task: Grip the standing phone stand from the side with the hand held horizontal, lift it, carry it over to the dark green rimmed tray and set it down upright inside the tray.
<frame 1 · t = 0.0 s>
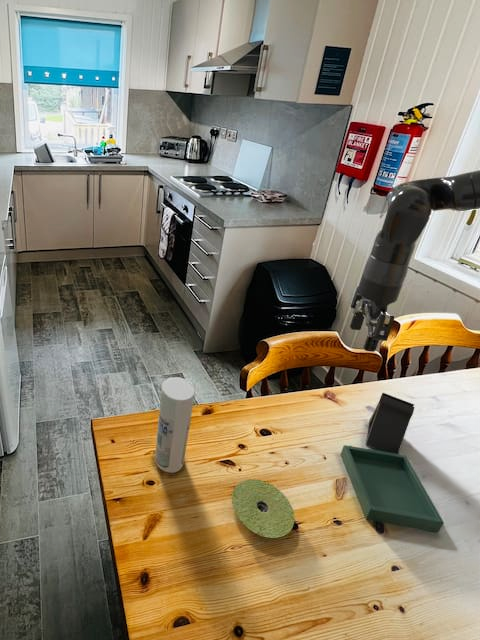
hand: (361, 339, 91), 22 cm above the table, tool pointing down, fingers open, 8 cm apart
spray can: (169, 460, 85), on the table
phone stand: (381, 439, 93), on the table
tray: (384, 490, 81), on the table
green abrasive disc: (260, 513, 75), on the table
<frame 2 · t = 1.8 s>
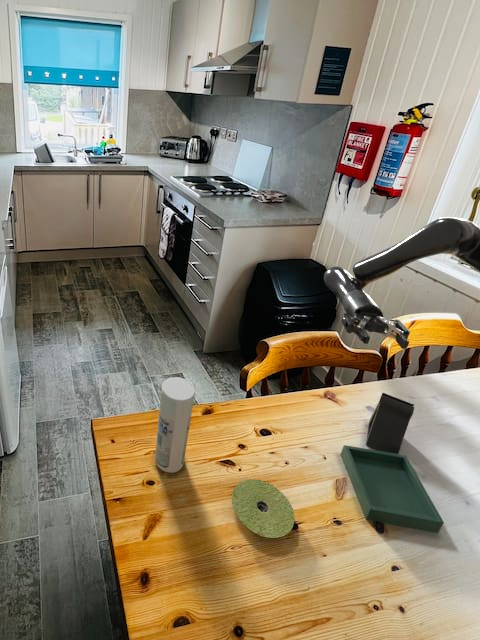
hand: (386, 343, 95), 19 cm above the table, tool horizontal, fingers open, 8 cm apart
nothing on the table moved.
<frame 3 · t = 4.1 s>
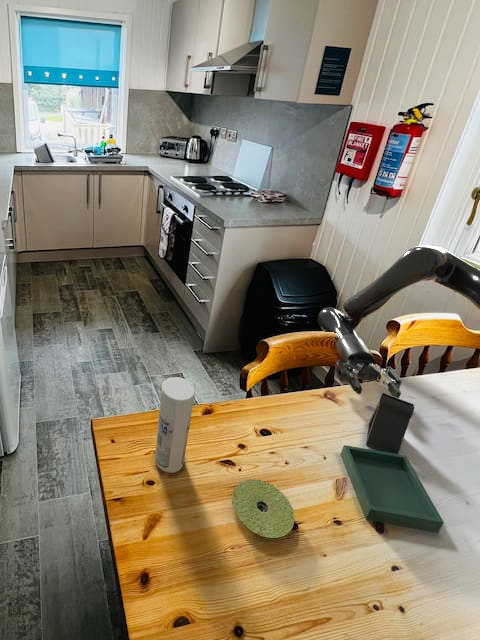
hand: (378, 394, 96), 7 cm above the table, tool horizontal, fingers open, 8 cm apart
nothing on the table moved.
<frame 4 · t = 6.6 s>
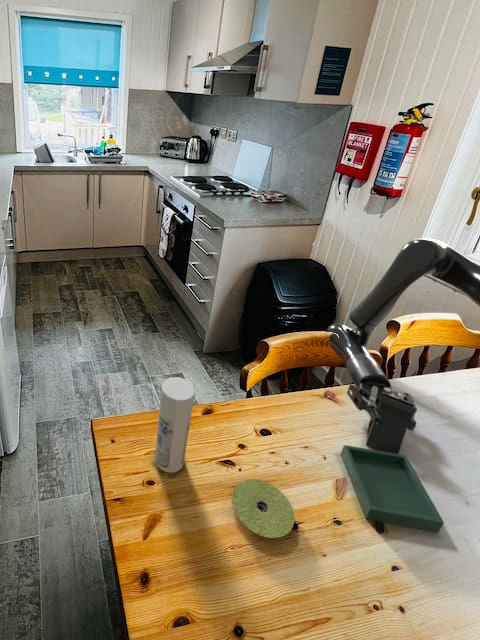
hand: (396, 424, 88), 7 cm above the table, tool horizontal, fingers closed on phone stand, 6 cm apart
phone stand: (381, 439, 93), on the table, touching gripper
everything else where it was.
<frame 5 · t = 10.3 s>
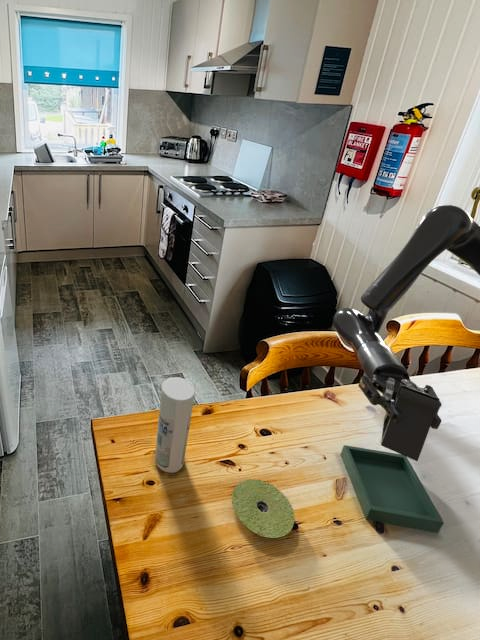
hand: (417, 422, 74), 18 cm above the table, tool horizontal, fingers closed on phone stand, 6 cm apart
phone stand: (399, 439, 80), point 10 cm above the table, touching gripper
everything else where it was.
when the fingers open (8 cm above the table, at t = 14.0 s): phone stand stays where it is, resting on tray.
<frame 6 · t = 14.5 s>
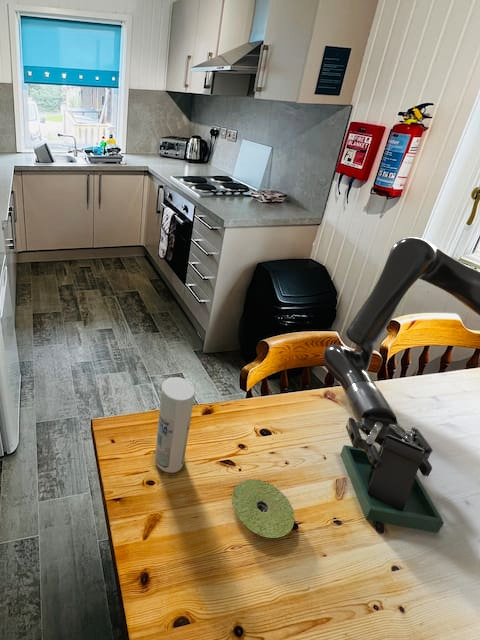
hand: (403, 469, 75), 9 cm above the table, tool horizontal, fingers open, 8 cm apart
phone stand: (385, 486, 80), point 1 cm above the table, touching tray
everything else where it was.
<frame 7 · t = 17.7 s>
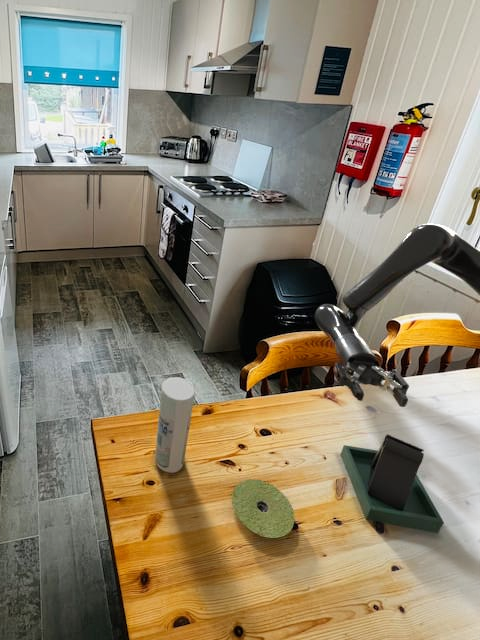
hand: (382, 400, 85), 14 cm above the table, tool horizontal, fingers open, 8 cm apart
nothing on the table moved.
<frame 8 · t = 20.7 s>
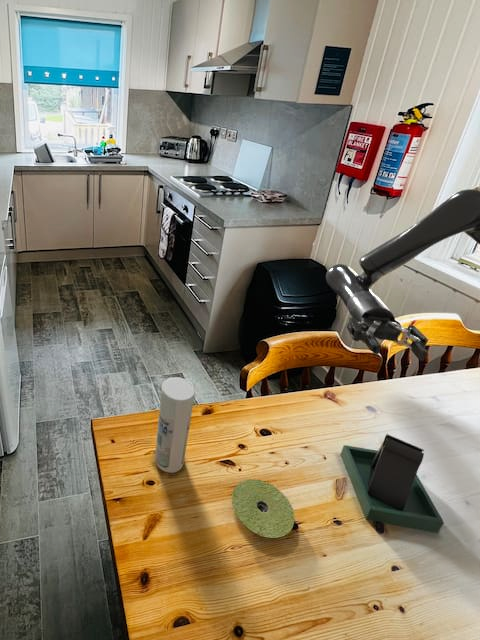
hand: (400, 353, 80), 26 cm above the table, tool horizontal, fingers open, 8 cm apart
nothing on the table moved.
at the end: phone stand inside the target area in the tray (0.1 cm from its centre), point 0.8 cm above the tray's base; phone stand tilted 0°; the gripper is holding nothing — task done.
